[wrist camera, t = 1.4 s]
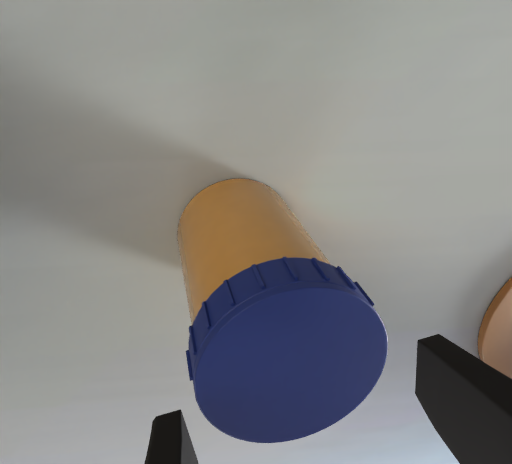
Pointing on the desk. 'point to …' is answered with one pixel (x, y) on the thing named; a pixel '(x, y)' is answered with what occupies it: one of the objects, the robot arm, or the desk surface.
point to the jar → (236, 235)
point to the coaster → (498, 332)
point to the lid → (284, 350)
